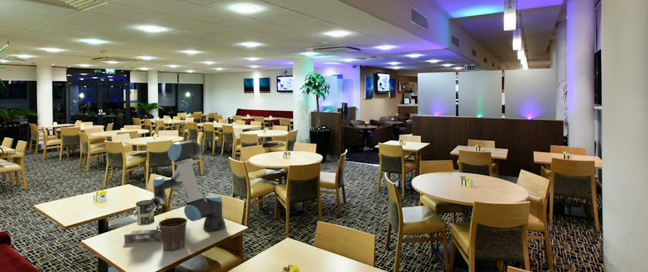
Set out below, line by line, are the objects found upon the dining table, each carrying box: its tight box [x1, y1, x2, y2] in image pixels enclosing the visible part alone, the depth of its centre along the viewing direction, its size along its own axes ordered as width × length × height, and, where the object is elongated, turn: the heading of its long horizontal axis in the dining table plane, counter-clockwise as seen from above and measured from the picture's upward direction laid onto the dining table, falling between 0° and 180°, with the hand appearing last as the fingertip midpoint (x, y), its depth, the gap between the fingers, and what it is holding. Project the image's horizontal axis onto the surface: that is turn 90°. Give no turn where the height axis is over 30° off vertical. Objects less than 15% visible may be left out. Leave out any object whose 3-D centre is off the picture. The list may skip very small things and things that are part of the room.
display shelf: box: [123, 229, 163, 244], centre depth 230 cm, size 22×14×6 cm, turn 97°
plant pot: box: [158, 216, 188, 252], centre depth 217 cm, size 16×16×16 cm
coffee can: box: [135, 199, 155, 227], centre depth 228 cm, size 10×10×14 cm
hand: (142, 214), depth 224 cm, fingers closed on coffee can, 10 cm apart
